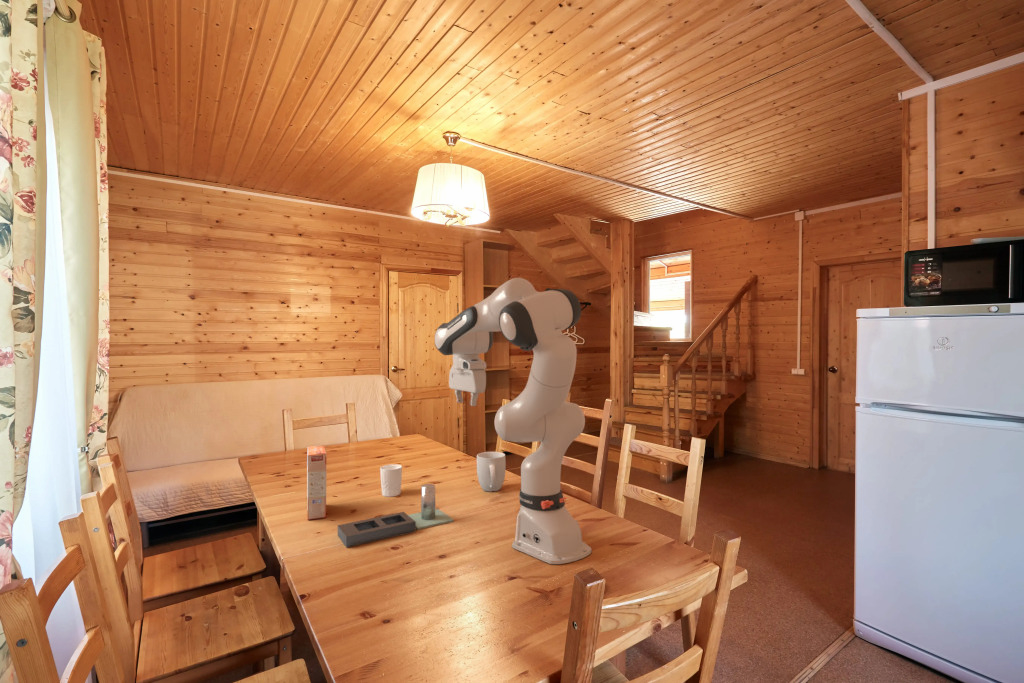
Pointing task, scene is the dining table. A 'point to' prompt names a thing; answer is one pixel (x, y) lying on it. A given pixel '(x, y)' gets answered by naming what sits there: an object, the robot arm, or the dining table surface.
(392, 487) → the white cup
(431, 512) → the steel peg
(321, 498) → the cracker box
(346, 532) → the grey socket block
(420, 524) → the mat
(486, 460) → the mug
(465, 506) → the dining table surface
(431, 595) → the dining table surface
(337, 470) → the dining table surface
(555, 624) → the dining table surface
